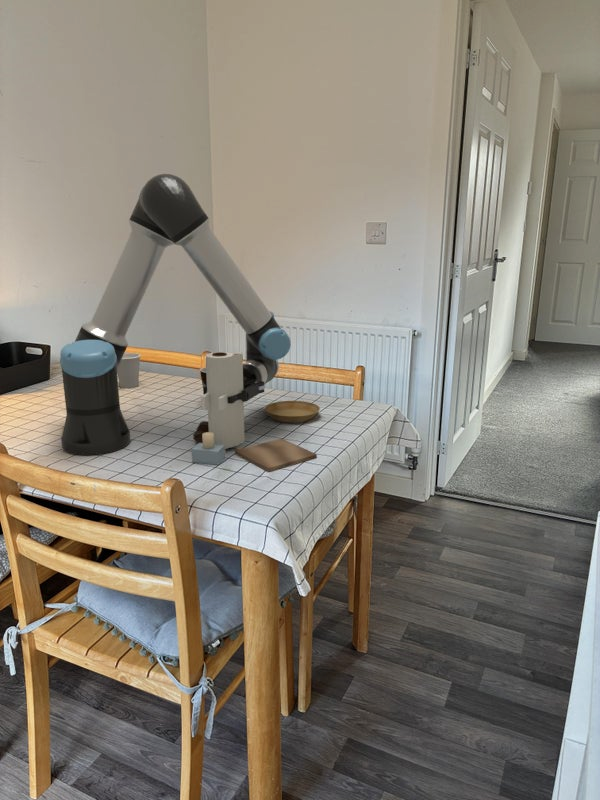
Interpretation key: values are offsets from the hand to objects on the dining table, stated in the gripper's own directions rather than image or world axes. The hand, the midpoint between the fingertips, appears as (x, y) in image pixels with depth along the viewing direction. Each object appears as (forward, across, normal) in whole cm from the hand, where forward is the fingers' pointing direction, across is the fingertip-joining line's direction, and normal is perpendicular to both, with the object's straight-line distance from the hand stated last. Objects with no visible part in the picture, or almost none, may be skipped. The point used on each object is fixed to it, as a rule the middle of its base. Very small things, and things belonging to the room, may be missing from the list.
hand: (211, 403), depth 126 cm
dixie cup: (-49, +50, -12) cm, 71 cm away
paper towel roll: (-5, -1, -12) cm, 13 cm away
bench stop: (+3, 0, -12) cm, 12 cm away
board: (-4, -13, -12) cm, 18 cm away
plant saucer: (-32, -9, -12) cm, 36 cm away
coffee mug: (-40, +16, -12) cm, 44 cm away
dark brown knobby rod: (-13, +6, -13) cm, 19 cm away
